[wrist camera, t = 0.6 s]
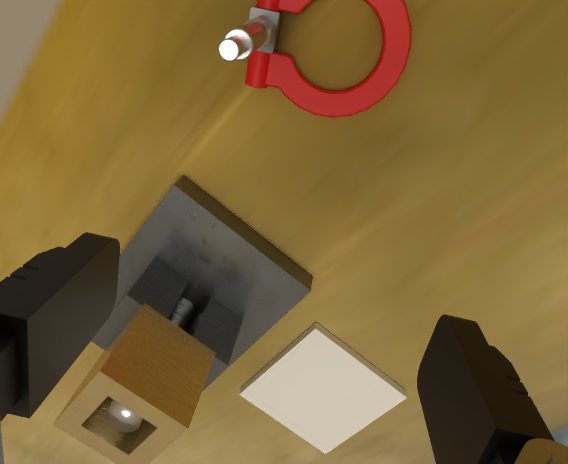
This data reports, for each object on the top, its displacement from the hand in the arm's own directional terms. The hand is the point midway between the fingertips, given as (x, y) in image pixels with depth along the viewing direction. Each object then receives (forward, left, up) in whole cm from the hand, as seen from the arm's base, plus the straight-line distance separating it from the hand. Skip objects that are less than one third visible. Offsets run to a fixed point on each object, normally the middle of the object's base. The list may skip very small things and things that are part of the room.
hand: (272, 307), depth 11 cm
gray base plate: (+17, +1, -20) cm, 27 cm away
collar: (+17, +1, -13) cm, 22 cm away
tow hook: (-4, -3, -21) cm, 21 cm away
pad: (+17, +15, -20) cm, 31 cm away
